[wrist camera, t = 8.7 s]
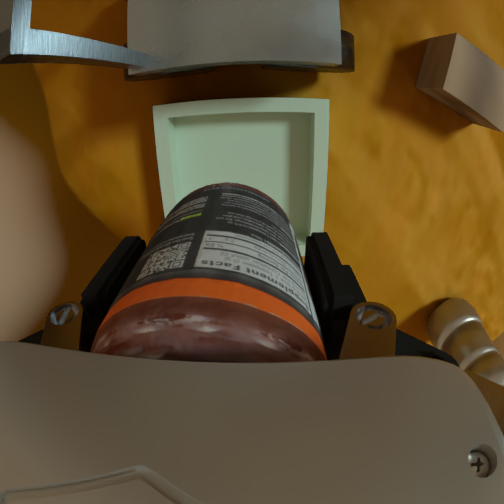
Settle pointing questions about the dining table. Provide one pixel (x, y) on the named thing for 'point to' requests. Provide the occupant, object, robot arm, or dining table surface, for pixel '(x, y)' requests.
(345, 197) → the dining table surface
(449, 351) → the plastic bottle
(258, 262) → the supplement bottle
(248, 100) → the tray
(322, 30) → the trolley
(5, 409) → the robot arm
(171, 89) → the dining table surface
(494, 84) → the block
